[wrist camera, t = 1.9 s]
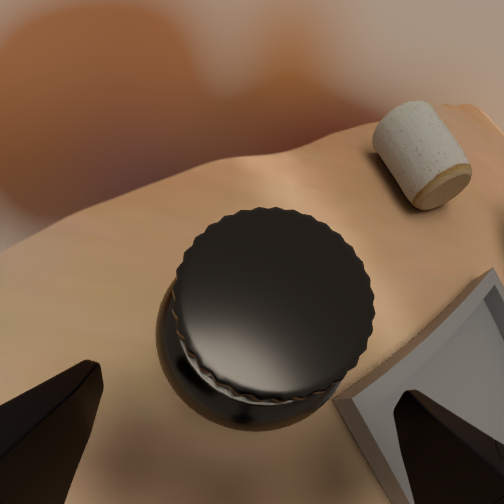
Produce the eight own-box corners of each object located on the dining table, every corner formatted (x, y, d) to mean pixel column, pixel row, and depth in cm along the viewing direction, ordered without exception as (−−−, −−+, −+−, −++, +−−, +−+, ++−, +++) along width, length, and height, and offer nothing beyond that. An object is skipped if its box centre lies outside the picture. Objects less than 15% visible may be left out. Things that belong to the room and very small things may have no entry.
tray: (532, 418, 16) (551, 414, 14) (421, 554, 10) (441, 563, 8) (473, 279, 22) (492, 267, 20) (331, 399, 17) (351, 398, 14)
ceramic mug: (402, 221, 24) (452, 165, 17) (359, 153, 27) (392, 93, 21) (461, 207, 27) (503, 164, 20) (423, 151, 30) (455, 105, 23)
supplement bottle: (293, 311, 19) (392, 196, 8) (291, 418, 16) (420, 435, 5) (185, 301, 18) (160, 163, 8) (173, 411, 15) (108, 435, 5)
